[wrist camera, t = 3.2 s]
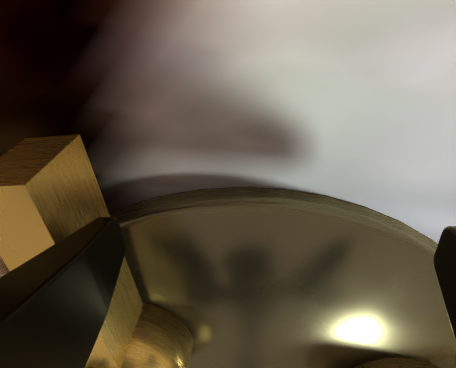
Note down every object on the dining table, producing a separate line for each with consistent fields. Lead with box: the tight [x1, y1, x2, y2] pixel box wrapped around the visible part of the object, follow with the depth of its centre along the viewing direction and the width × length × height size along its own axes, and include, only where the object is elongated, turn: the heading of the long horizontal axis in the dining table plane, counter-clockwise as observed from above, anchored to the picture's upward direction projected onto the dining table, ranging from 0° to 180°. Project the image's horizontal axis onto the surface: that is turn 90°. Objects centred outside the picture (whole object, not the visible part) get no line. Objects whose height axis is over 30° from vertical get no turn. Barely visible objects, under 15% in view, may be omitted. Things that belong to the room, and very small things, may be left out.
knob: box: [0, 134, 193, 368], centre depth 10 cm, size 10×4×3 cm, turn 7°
